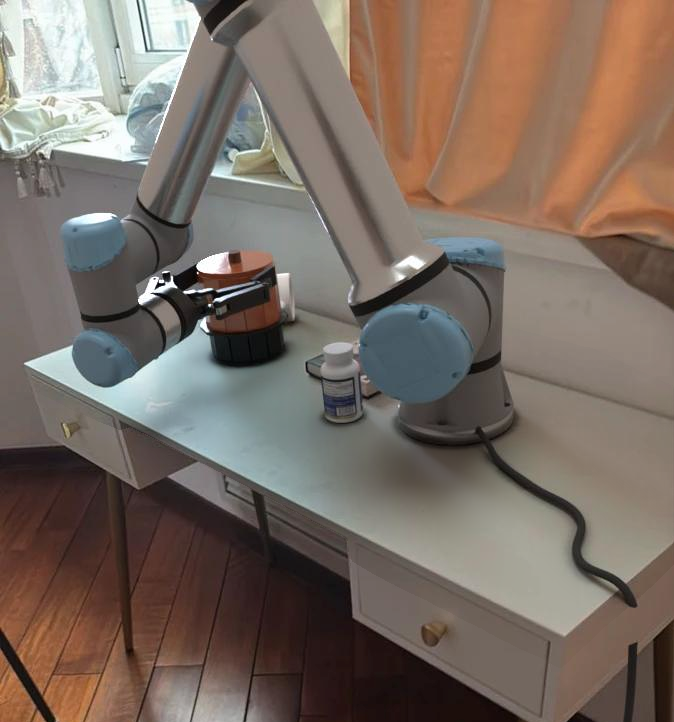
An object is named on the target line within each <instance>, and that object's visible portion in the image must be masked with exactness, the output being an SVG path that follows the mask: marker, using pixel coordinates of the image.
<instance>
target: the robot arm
mask: <svg viewBox="0 0 674 722" xmlns="http://www.w3.org/2000/svg"><path fill="white" fill-rule="evenodd" d="M185 1H186V2H188V3H190V4H192V5H193V6H194V8H195V10H196V12H197V14H198V16H199V18H198V22H197V24H196V27H195V31H194V33H193V35H192V39H191V41H190V43H189V46H188V50H187V52H186V55H185V58H184V61H183V62H182V63H183V64H182V66H181V68H180V69H181V70H180V72H179V74H178V78H177V80H176V84H175V86H174V89H173V91H172V94H171V97H170V100H169V102H168V104H167V105H168V106H167V108H166V111H165V114H164V117H163V120H162V121H161V122H162V123H161V124H160V128H159V131H158V133H157V136H156V139H155V140H154V141H155V142H154V144H153V148H152V150H151V153H150V156H149V158H148V161H147V164H146V167H145V170H144V172H143V176H142V178H141V181H140V183H139V187H138V190H137V193H136V194H135V198H134V201H133V203H132V205H131V207H130V211H129V213H128V215H127V216H125V217H123V218H121V219H120V218H119V217H118V215H115V214H112V213H106V212H105V213H104V212H98V213H87V214H82V215H80V216H77V217H73V218H72V217H71V218H70V219H68V220H66V221H65V222H63V224H62V225H61V227H60V229H59V236H60V240H61V244H62V250H63V254H64V255H63V257H64V263H65V265H66V267H67V270H68V275H69V278H70V281H71V285H72V289H73V293H74V296H75V301H76V303H77V307H78V311H79V314H80V321H81V324H82V329H83V330H82V331H81V332H80V333H79V334H78V335H77V336H76V337H75V338H74V340H73V341H72V348H71V357H72V362H73V364H74V367H75V368H76V370H77V371H78V373H79V374H80V375H81V376H82V377H83V378H84V379H85V380H86V381H87V382H88V383H90V384H92V385H94V386H95V387H99V388H102V389H103V388H104V389H105V388H106V389H107V388H113V387H115V386H117V385H120V384H121V383H123V382H124V381H126V380H128V379H132V378H133V377H134V376H136V374H137V373H139V371H141V370H142V369H144V368H145V367H146V366H148V365H149V364H150V363H152V361H155V360H158V359H159V357H160V356H162V355H164V354H165V353H166V352H168V351H169V350H171V349H172V348H173V347H175V346H177V345H178V344H180V343H182V342H183V341H184V340H186V339H188V337H191V335H192V334H193V333H194V332H195V329H196V327H197V324H198V321H200V320H203V319H204V318H205V316H210V315H214V314H215V318H216V320H223V319H224V318H226V317H228V316H230V315H232V314H235V313H238V312H241V311H244V310H247V309H250V308H253V307H256V306H258V305H262V304H264V303H267V302H270V301H271V298H270V289H271V288H272V287H274V286H275V285H277V281H276V273H275V266H269V267H268V268H266V269H265V270H263V271H262V272H260V273H259V274H257V275H256V276H254V277H253V278H251V279H250V282H249V283H245V284H241V285H236V286H232V287H228V288H223V289H219V290H214V289H213V288H207V289H203V290H200V289H199V290H195V289H191V290H188V289H189V288H191V287H192V286H195V285H196V284H199V282H198V277H197V271H198V270H197V265H198V264H199V263H200V262H192V263H191V264H189V265H188V266H186V267H184V268H183V269H180V270H179V271H177V272H175V273H174V274H172V275H171V271H170V270H169V271H167V270H166V271H163V272H161V277H162V280H161V279H160V278H159V277H157V276H154V277H151V276H153V275H154V274H156V273H158V272H159V271H162V270H163V269H165V268H166V267H168V266H171V265H173V264H175V263H177V262H178V261H179V260H180V259H181V258H182V257H183V256H184V255H185V254H186V253H187V252H188V251H189V250H190V248H191V247H192V245H193V243H194V240H195V239H194V238H195V237H194V236H195V233H194V225H193V218H194V217H195V214H196V211H197V209H198V207H199V204H200V202H201V200H202V197H203V195H204V192H205V190H206V188H207V185H208V183H209V181H210V178H211V176H212V174H213V172H214V169H215V167H216V164H217V161H218V160H219V157H220V155H221V152H222V150H223V148H224V145H225V143H226V141H227V139H228V137H229V134H230V131H231V129H232V127H233V124H234V122H235V119H236V117H237V115H238V112H239V110H240V107H241V105H242V103H243V101H244V98H245V96H246V94H247V91H248V89H249V86H250V84H252V87H253V88H254V90H255V92H256V94H257V96H258V98H259V100H260V102H261V104H262V106H263V108H264V110H265V112H266V114H267V116H268V118H269V120H270V122H271V124H272V125H273V128H274V129H275V132H276V133H277V135H278V138H279V140H280V141H281V143H282V145H283V147H284V149H285V151H286V154H287V156H288V157H289V159H290V161H291V163H292V165H293V168H294V169H295V171H296V173H297V175H298V177H299V179H300V181H301V184H302V185H303V188H304V189H305V191H306V193H307V195H308V197H309V199H310V201H311V203H312V205H313V207H314V209H315V211H316V212H317V215H318V216H319V219H320V220H321V222H322V224H323V226H324V228H325V230H326V232H327V235H328V237H329V238H330V240H331V242H332V244H333V247H334V248H335V250H336V252H337V255H338V256H339V258H340V260H341V262H342V265H343V266H344V268H345V270H346V272H347V274H348V276H349V278H350V280H351V286H350V290H349V293H348V296H347V300H346V301H347V305H348V307H349V309H350V311H351V313H352V315H353V316H354V319H355V321H356V323H357V324H358V326H359V328H360V330H361V331H360V337H359V343H358V349H357V350H358V359H359V365H360V367H361V369H362V371H363V373H364V375H365V377H366V378H367V379H368V381H369V383H370V384H371V385H372V386H373V387H374V388H375V389H376V390H378V391H379V392H380V393H381V394H383V395H385V396H386V397H388V398H390V399H394V400H397V401H400V402H399V404H398V408H397V409H398V424H399V427H400V429H401V430H402V431H403V432H404V433H405V434H407V435H408V436H410V437H412V438H414V439H417V440H418V441H422V442H426V443H430V444H436V445H446V446H447V445H448V446H449V445H450V446H454V445H468V444H469V445H470V444H475V443H476V444H477V443H479V442H482V444H483V445H484V447H485V448H486V451H487V452H488V454H489V456H490V457H491V458H492V460H493V461H494V462H495V463H496V464H497V466H498V467H499V468H500V469H502V471H504V472H505V474H507V475H509V476H510V477H512V478H513V479H514V480H516V481H517V482H519V483H520V484H521V485H523V486H524V487H526V488H527V489H529V490H530V491H532V492H533V493H535V494H537V495H538V496H541V497H542V498H544V499H547V500H549V501H550V502H552V503H555V504H556V505H559V506H560V507H562V508H563V509H565V510H566V511H568V513H570V514H571V515H572V516H573V517H574V519H575V521H576V524H577V525H576V526H577V529H576V532H575V535H574V538H573V541H572V546H571V554H572V557H573V559H574V561H575V563H576V564H577V566H578V567H579V568H580V569H581V570H583V571H584V572H586V573H588V574H590V575H592V576H594V577H597V578H600V579H602V580H604V581H606V582H608V583H610V584H611V585H613V586H614V587H615V588H617V590H618V591H620V592H621V594H622V596H623V598H624V600H625V602H626V604H627V605H628V607H630V608H633V609H636V608H637V607H638V606H639V605H638V603H637V599H636V597H635V595H634V593H633V591H632V590H631V589H630V587H629V585H628V584H627V583H626V582H625V581H623V580H622V579H621V578H620V577H619V576H618V575H616V574H615V573H611V572H610V571H608V570H605V569H602V568H600V567H597V566H595V565H592V564H591V563H590V562H588V561H587V560H586V559H584V557H583V555H582V551H581V546H582V542H583V538H584V535H585V532H586V520H585V517H584V515H583V514H582V512H581V511H580V510H579V508H577V507H576V506H575V505H574V504H573V503H572V502H570V501H569V500H567V499H565V498H563V497H561V496H559V495H557V494H555V493H553V492H551V491H550V490H547V489H545V488H543V487H541V486H539V484H536V483H535V482H534V481H532V480H530V479H529V478H527V477H526V476H524V475H523V474H521V473H520V472H518V471H517V470H515V469H514V468H513V467H512V466H510V465H509V464H508V463H507V462H505V460H504V459H503V458H502V457H501V456H500V455H499V454H498V452H497V451H496V449H495V447H494V445H493V443H492V441H490V439H494V438H495V437H497V436H500V435H501V434H503V433H504V432H505V431H507V430H508V429H509V428H510V427H511V426H512V424H513V421H514V408H515V407H514V406H515V403H514V400H513V398H512V394H511V391H510V387H509V384H508V381H507V378H506V375H505V371H504V368H503V365H502V349H503V348H502V347H503V322H504V321H503V319H504V318H503V317H504V316H503V315H504V291H505V290H504V289H505V272H506V270H507V266H506V265H505V249H504V247H503V246H502V244H501V243H499V242H498V241H496V240H493V239H489V238H482V237H472V236H471V237H469V236H463V237H461V236H459V237H458V236H456V237H452V236H451V237H438V238H429V239H424V238H423V236H422V233H421V232H420V230H419V228H418V226H417V223H416V221H415V218H414V217H413V215H412V212H411V210H410V208H409V206H408V203H407V201H406V199H405V197H404V195H403V193H402V191H401V188H400V186H399V184H398V182H397V180H396V178H395V176H394V174H393V171H392V169H391V166H390V165H389V162H388V160H387V159H386V156H385V154H384V152H383V150H382V148H381V145H380V143H379V140H378V139H377V136H376V134H375V133H374V130H373V128H372V125H371V123H370V121H369V119H368V116H367V115H366V113H365V111H364V109H363V106H362V104H361V101H360V100H359V98H358V95H357V92H356V91H355V89H354V86H353V85H352V82H351V80H350V78H349V76H348V73H347V72H346V69H345V67H344V65H343V62H342V60H341V58H340V56H339V54H338V52H337V50H336V47H335V45H334V43H333V41H332V39H331V37H330V35H329V32H328V30H327V28H326V26H325V24H324V21H323V19H322V17H321V15H320V13H319V10H318V8H317V6H316V4H315V2H314V0H185ZM150 277H151V278H150ZM148 278H150V279H149V282H148V284H147V287H146V289H145V292H144V293H143V294H142V295H140V296H139V295H138V289H137V285H138V284H140V283H142V282H143V281H145V280H146V279H148ZM186 290H188V291H186ZM209 294H210V299H211V304H208V300H207V297H206V295H209ZM638 645H639V642H638V641H636V642H633V643H631V644H628V645H627V646H628V647H627V672H626V673H627V675H626V689H625V690H626V691H625V701H624V712H623V720H622V722H633V716H634V708H635V698H636V684H637V667H638V647H639V646H638Z"/></svg>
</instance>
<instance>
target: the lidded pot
mask: <svg viewBox="0 0 674 722" xmlns="http://www.w3.org/2000/svg"><path fill="white" fill-rule="evenodd" d="M274 258H275V257H274V256H273V254H271V253H269V252H268V251H263V250H239V249H232V250H229V251H227V252H223V253H219V254H215V255H212V256H209V257H207V258H205V259H203V260H201V261H200V262H198V263H199V264H198V265H197V270H198V271H197V277H198V287H199V288H198V289H199V290H203V289H207V288H213V289H214V290H219V289H223V288H228V287H232V286H236V285H241V284H245V283H249V282H250V279H251V278H253V277H254V276H256V275H257V274H259V273H260V272H262V271H263V270H265V269H266V268H268V267H269V266H275V273H276V281H277V285H275V286H274V287H272V288H271V289H270V298H271V301H270V302H267V303H264V304H262V305H258V306H256V307H253V308H250V309H247V310H244V311H241V312H238V313H235V314H232V315H230V316H228V317H226V318H224V319H223V320H216V318H215V314H214V315H210V316H205V317H204V318H205V321H206V325H207V326H208V327H209V328H210V329H211V330H214V331H220V332H225V333H227V332H228V333H236V332H249V331H253V330H257V329H261V328H265V327H268V326H270V325H271V324H273V323H275V322H277V321H278V320H279V319H280V317H281V314H282V312H281V304H280V296H279V288H278V280H277V274H278V273H277V272H278V271H277V265H276V264H277V263H276V261H275V259H274ZM206 297H207V300H208V304H211V299H210V294H209V295H206Z"/></svg>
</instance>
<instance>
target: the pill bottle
mask: <svg viewBox="0 0 674 722" xmlns="http://www.w3.org/2000/svg"><path fill="white" fill-rule="evenodd" d="M322 351H323V360H324V362H323V363H322V365H321V366H320V372H319V373H320V383H321V391H322V400H323V409H324V416H325V418H326V419H327V420H328V421H330V422H332V423H338V424H339V423H340V424H342V423H344V424H345V423H346V424H347V423H351V422H354V421H357V420H358V419H360V418H361V417H362V416H363V415H364V414H363V413H364V403H363V388H362V377H361V368H360V367H361V365H360V363H359V362H358V361H357V360H355V359H354V354H355V353H354V346H353V344H352V343H349V342H344V341H340V342H339V341H337V342H332V343H329V344H326V345H325V346H324V347H323V349H322Z"/></svg>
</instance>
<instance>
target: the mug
mask: <svg viewBox="0 0 674 722" xmlns="http://www.w3.org/2000/svg"><path fill="white" fill-rule="evenodd" d="M277 280H278V288H279V296H280V304H281V308H282V309H283V310H285V311H286V312H287V313H288V318H287V321H286V323H287V322H288V323H289V322H294V321H295V318H296V306H295V305H296V303H295V291H294V284H293V279H292V275H291V274H290V272H285V273H277Z"/></svg>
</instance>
